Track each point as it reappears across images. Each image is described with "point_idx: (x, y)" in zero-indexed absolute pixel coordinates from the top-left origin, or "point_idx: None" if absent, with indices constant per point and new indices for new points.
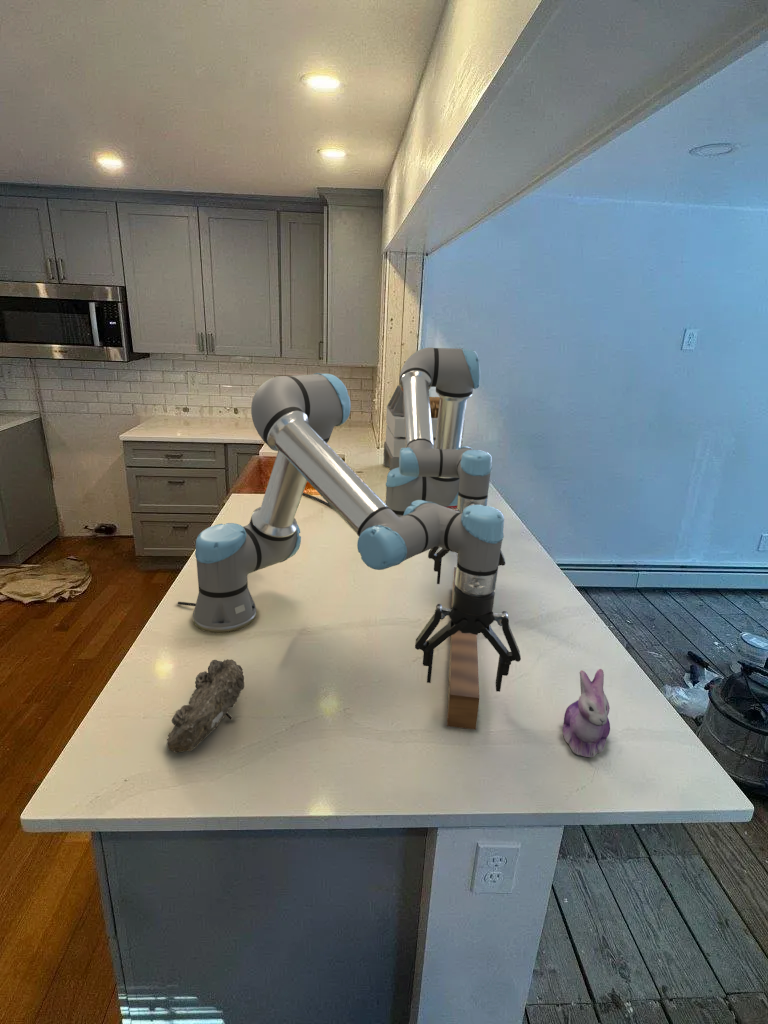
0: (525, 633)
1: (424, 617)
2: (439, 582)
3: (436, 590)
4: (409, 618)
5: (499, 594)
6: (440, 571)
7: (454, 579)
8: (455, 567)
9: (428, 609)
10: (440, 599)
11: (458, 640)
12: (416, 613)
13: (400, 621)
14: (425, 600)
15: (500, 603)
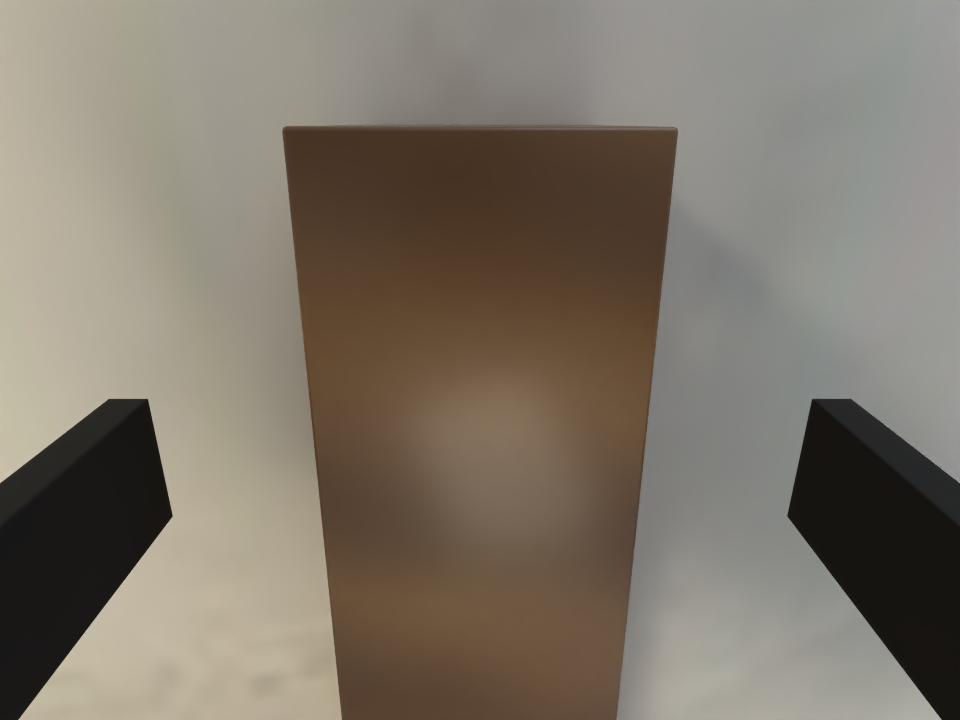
0: (927, 706)
1: (197, 645)
2: (157, 531)
3: (197, 162)
4: (94, 673)
5: (915, 105)
6: (54, 667)
7: (336, 589)
8: (306, 146)
9: (201, 537)
10: (272, 352)
11: None
12: (123, 607)
13: (46, 715)
14: (138, 398)
15: (866, 313)
